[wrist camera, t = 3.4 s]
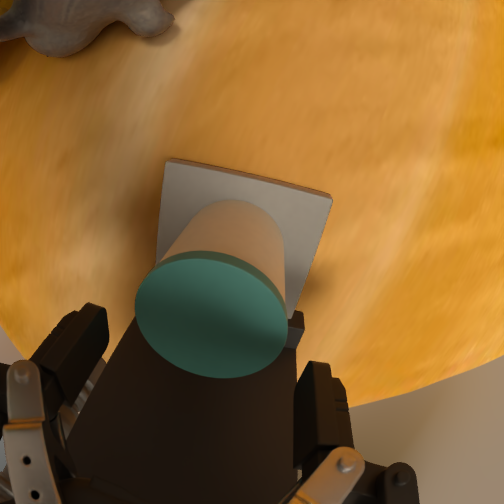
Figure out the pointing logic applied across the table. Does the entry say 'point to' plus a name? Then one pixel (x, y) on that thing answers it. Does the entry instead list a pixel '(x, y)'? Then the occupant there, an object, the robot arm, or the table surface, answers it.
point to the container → (218, 293)
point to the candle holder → (3, 490)
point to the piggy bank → (78, 22)
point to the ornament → (5, 6)
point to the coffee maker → (201, 387)
